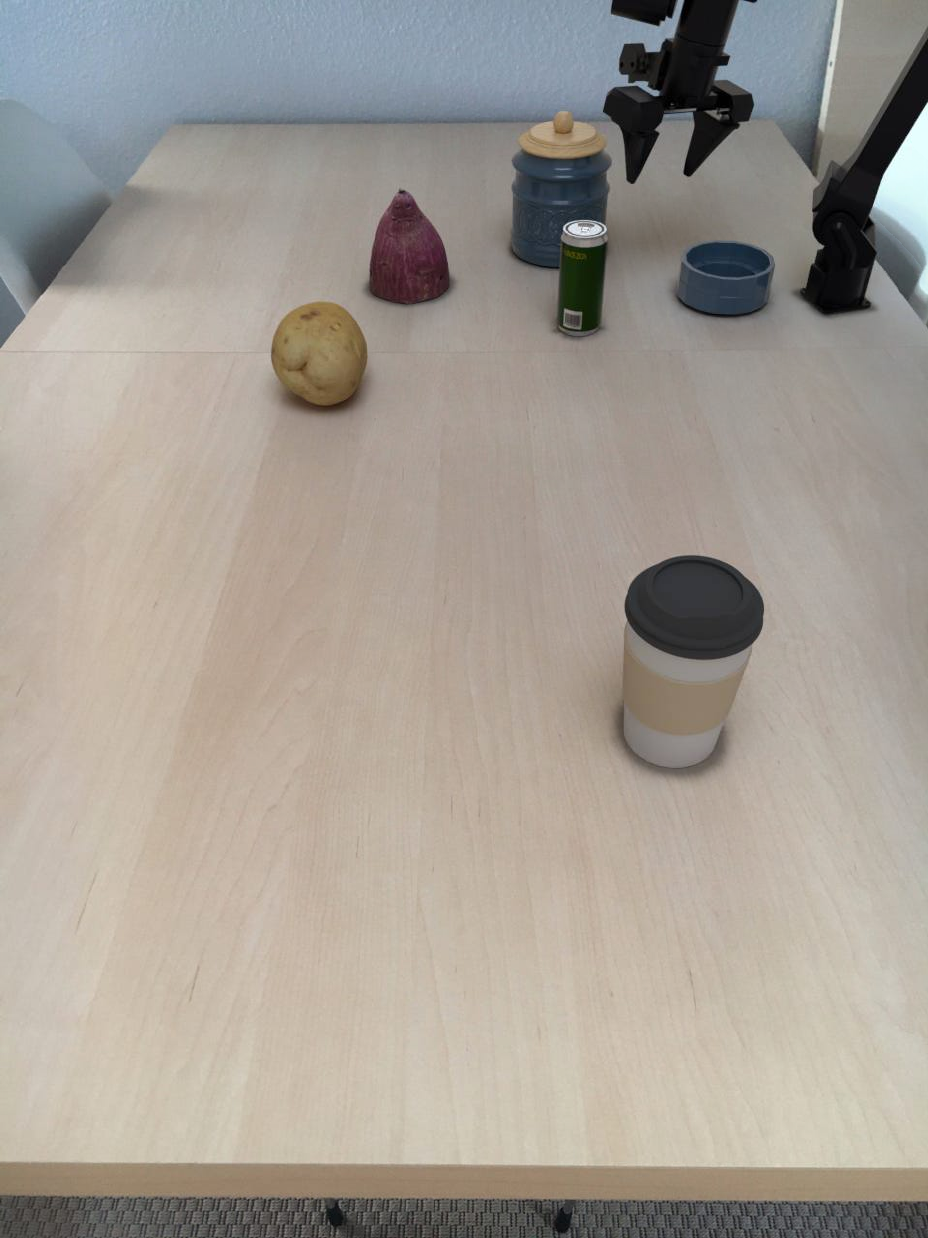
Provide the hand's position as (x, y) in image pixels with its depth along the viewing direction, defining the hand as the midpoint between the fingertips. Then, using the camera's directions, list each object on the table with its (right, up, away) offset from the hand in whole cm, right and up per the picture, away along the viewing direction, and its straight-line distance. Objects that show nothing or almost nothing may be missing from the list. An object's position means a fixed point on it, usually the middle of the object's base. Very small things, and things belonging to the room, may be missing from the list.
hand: (658, 178), depth 120 cm
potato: (-39, -28, -9) cm, 49 cm away
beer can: (-10, -18, +1) cm, 20 cm away
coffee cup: (-8, -62, -46) cm, 77 cm away
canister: (-11, -2, +17) cm, 20 cm away
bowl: (+9, -13, +5) cm, 16 cm away
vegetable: (-31, -10, +10) cm, 34 cm away
